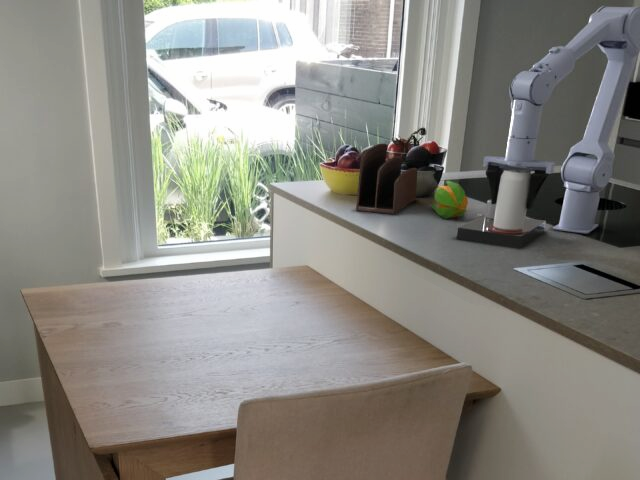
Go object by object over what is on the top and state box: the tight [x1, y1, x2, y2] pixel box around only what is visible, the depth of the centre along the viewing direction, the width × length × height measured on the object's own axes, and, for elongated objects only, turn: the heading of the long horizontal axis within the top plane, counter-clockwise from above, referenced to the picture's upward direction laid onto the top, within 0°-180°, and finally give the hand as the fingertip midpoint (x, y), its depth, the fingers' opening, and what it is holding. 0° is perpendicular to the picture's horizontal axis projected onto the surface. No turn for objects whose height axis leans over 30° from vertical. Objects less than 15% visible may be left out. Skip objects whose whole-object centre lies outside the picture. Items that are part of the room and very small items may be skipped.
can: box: [493, 168, 532, 231], centre depth 177 cm, size 6×6×12 cm
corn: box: [430, 180, 469, 220], centre depth 203 cm, size 7×8×20 cm
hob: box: [456, 213, 547, 249], centre depth 186 cm, size 19×15×3 cm
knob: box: [484, 199, 497, 219], centre depth 189 cm, size 4×4×4 cm
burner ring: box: [487, 224, 529, 234], centre depth 181 cm, size 9×9×1 cm
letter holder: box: [355, 143, 418, 215], centre depth 208 cm, size 10×20×14 cm, turn 155°
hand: (511, 205), depth 178 cm, fingers open, 7 cm apart
